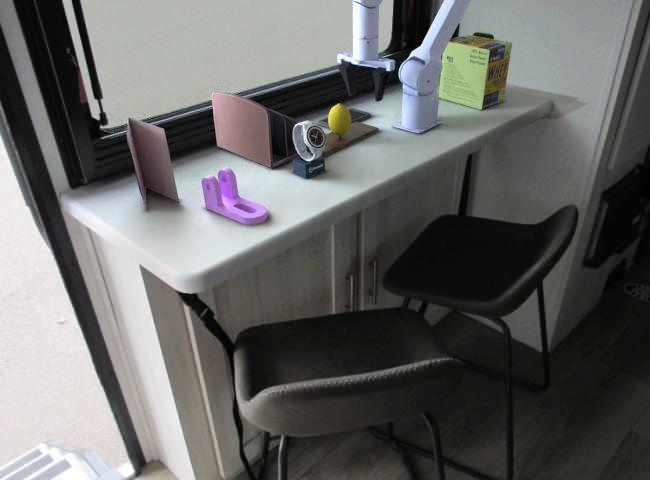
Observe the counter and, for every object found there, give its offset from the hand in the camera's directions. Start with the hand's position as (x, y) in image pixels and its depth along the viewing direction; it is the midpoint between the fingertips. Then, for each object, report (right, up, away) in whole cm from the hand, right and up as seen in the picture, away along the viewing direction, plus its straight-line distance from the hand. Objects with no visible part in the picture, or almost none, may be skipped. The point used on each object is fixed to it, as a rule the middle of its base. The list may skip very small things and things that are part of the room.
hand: (365, 97), depth 135 cm
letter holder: (-25, -13, 0) cm, 28 cm away
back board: (-6, -9, +4) cm, 11 cm away
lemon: (-6, -9, +3) cm, 11 cm away
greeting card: (-43, -27, -18) cm, 54 cm away
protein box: (+31, +8, +26) cm, 42 cm away
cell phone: (-5, -1, +15) cm, 16 cm away
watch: (-13, -20, -10) cm, 26 cm away
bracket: (-26, -31, -24) cm, 47 cm away
